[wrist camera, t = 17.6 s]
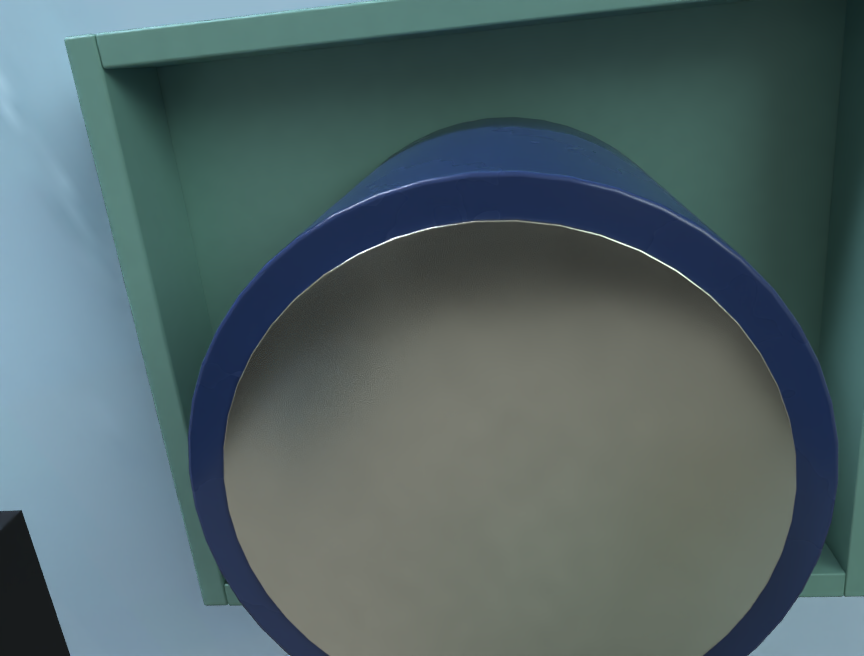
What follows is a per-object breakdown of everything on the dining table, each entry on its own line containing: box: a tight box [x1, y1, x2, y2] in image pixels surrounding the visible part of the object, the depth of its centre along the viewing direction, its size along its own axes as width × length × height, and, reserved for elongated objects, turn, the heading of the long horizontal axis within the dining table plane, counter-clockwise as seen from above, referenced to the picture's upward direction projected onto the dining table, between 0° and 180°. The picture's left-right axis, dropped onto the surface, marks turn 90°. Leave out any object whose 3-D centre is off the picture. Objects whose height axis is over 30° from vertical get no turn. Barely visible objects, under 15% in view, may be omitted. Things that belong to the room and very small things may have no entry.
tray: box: [65, 0, 864, 606], centre depth 21 cm, size 20×17×4 cm
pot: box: [188, 117, 838, 656], centre depth 17 cm, size 10×11×11 cm
